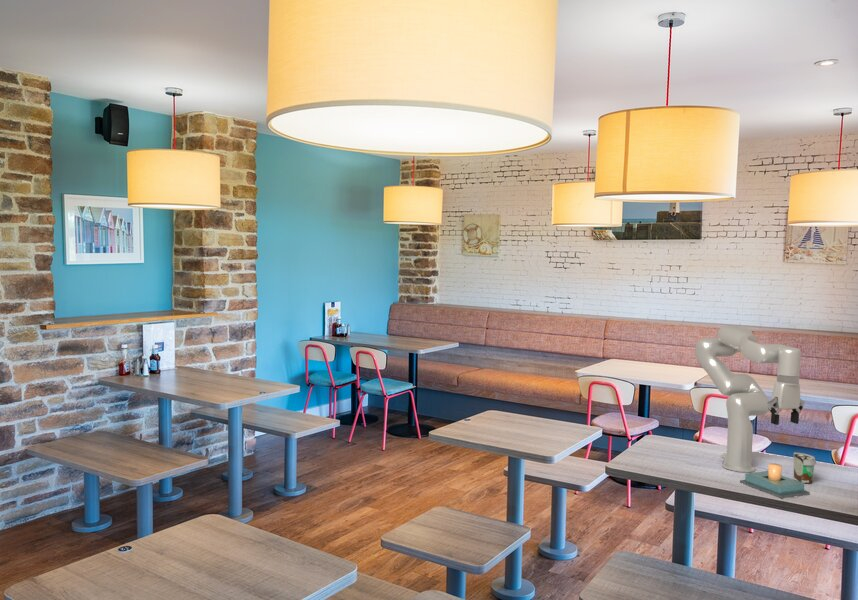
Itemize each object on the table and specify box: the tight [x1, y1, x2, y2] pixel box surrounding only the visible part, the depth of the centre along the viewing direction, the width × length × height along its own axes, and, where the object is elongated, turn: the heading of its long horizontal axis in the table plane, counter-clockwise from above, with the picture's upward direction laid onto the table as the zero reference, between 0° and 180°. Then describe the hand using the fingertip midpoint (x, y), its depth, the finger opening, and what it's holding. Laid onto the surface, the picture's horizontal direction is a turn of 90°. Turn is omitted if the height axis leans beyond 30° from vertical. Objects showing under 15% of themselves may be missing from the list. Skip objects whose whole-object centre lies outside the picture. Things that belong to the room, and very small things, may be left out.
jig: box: [739, 470, 811, 499], centre depth 254 cm, size 19×14×4 cm
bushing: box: [767, 463, 783, 481], centre depth 254 cm, size 4×4×8 cm
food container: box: [792, 451, 817, 485], centre depth 265 cm, size 12×6×10 cm, turn 168°
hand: (784, 423), depth 258 cm, fingers open, 9 cm apart
